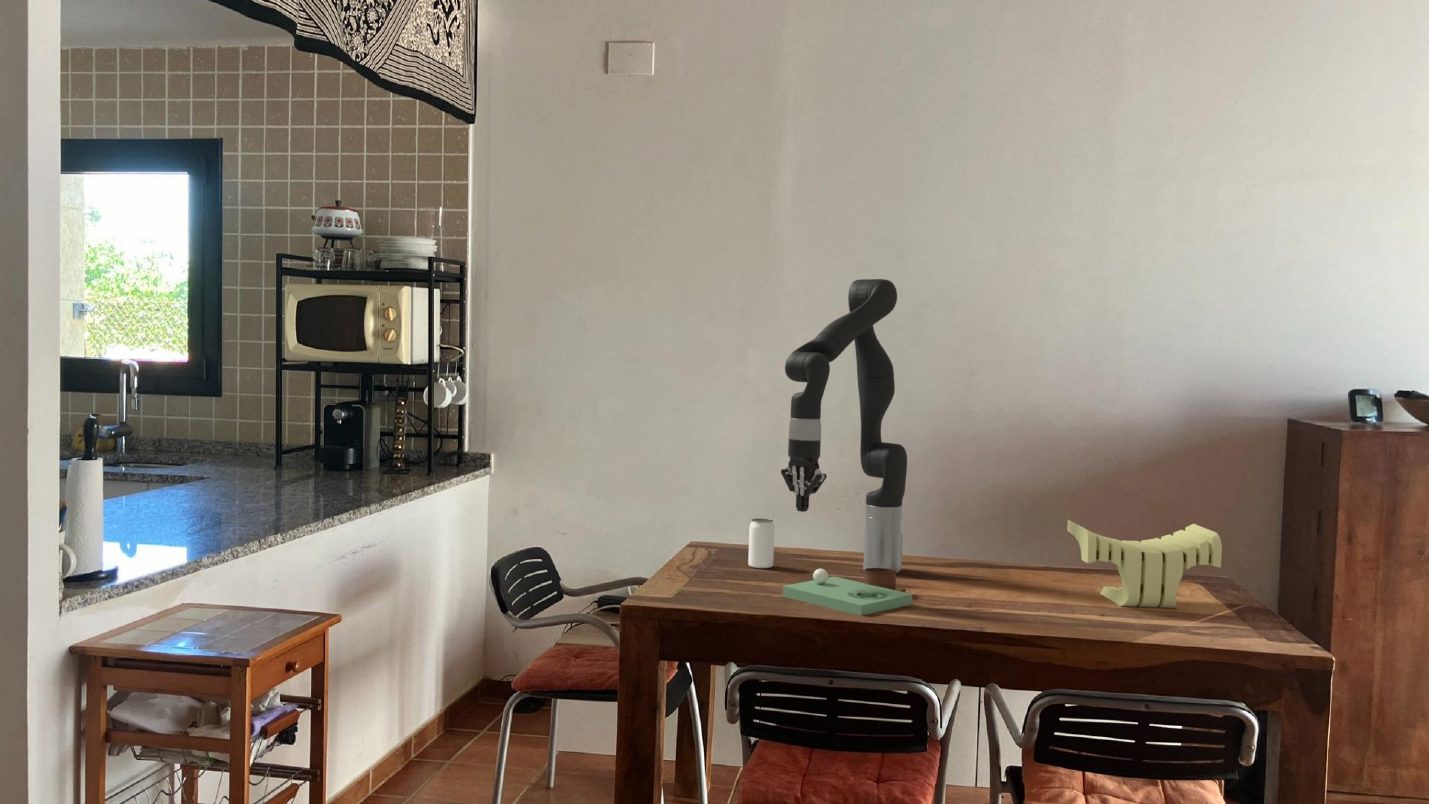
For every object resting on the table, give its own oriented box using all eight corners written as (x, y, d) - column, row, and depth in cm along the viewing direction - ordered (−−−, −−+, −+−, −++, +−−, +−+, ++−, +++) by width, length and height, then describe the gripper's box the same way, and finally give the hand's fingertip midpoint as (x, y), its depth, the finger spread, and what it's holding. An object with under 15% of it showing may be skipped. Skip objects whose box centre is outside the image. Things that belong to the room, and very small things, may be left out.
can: (771, 569, 285) (772, 522, 285) (746, 567, 287) (747, 521, 286) (774, 564, 292) (776, 519, 291) (750, 563, 293) (752, 517, 292)
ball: (819, 581, 261) (820, 566, 261) (831, 584, 258) (831, 569, 258) (809, 583, 258) (810, 568, 258) (821, 586, 256) (821, 570, 256)
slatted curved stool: (1085, 608, 253) (1089, 530, 252) (1064, 592, 269) (1067, 519, 268) (1218, 613, 252) (1222, 535, 251) (1189, 597, 268) (1193, 523, 267)
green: (782, 596, 255) (782, 585, 255) (833, 586, 267) (834, 576, 267) (860, 617, 238) (861, 605, 238) (912, 605, 250) (912, 594, 250)
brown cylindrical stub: (843, 595, 262) (843, 568, 262) (877, 590, 270) (878, 565, 270) (881, 602, 253) (882, 575, 253) (916, 597, 260) (917, 571, 260)
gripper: (836, 439, 259) (833, 513, 260) (794, 434, 269) (792, 506, 269) (815, 440, 254) (812, 516, 255) (773, 435, 263) (770, 508, 264)
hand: (802, 511), depth 262 cm, fingers closed
